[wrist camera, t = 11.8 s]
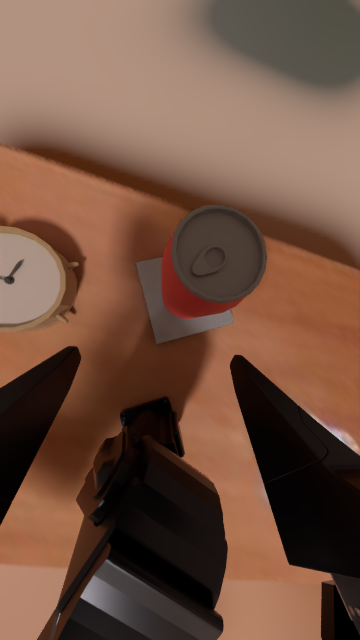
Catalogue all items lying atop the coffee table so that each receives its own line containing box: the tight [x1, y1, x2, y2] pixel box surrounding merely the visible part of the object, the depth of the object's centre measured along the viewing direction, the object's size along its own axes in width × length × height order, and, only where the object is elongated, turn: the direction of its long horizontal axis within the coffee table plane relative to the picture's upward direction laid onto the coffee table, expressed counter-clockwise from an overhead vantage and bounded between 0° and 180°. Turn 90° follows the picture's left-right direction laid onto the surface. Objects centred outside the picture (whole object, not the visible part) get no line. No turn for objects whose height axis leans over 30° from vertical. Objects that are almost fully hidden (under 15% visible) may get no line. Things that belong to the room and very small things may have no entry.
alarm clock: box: [0, 226, 79, 332], centre depth 17 cm, size 11×5×15 cm
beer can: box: [161, 204, 267, 319], centre depth 14 cm, size 7×7×12 cm
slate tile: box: [136, 257, 234, 344], centre depth 21 cm, size 11×11×1 cm
